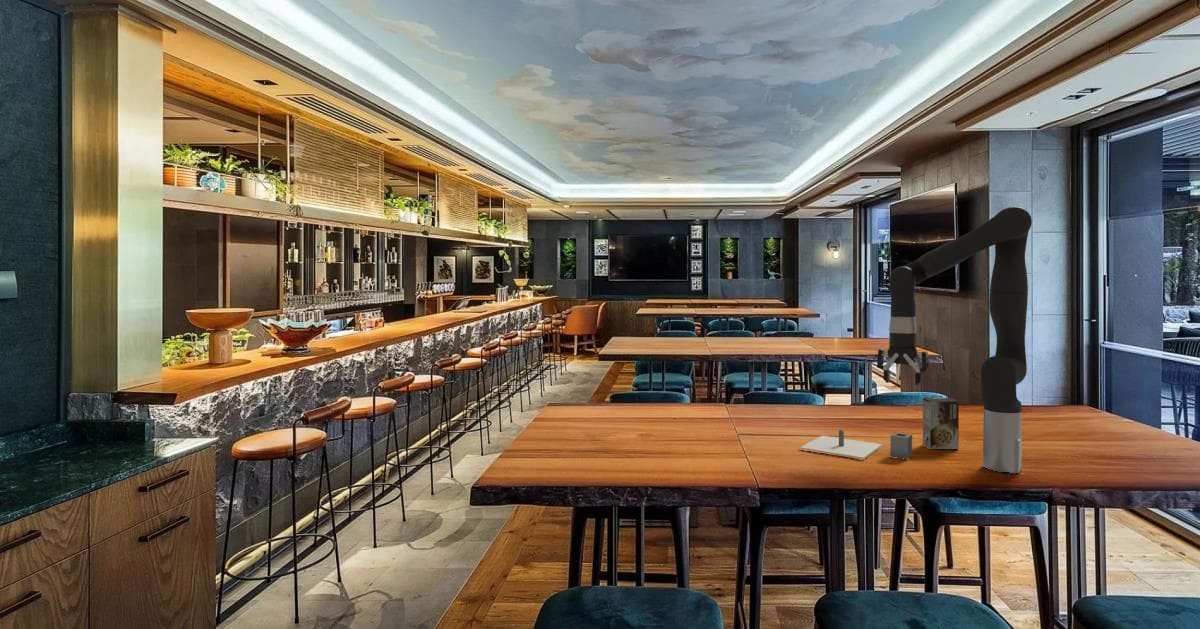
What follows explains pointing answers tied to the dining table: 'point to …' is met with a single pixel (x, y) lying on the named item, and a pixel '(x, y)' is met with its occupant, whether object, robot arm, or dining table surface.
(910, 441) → the block
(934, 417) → the coffee box
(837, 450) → the pin plate
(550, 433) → the dining table surface
